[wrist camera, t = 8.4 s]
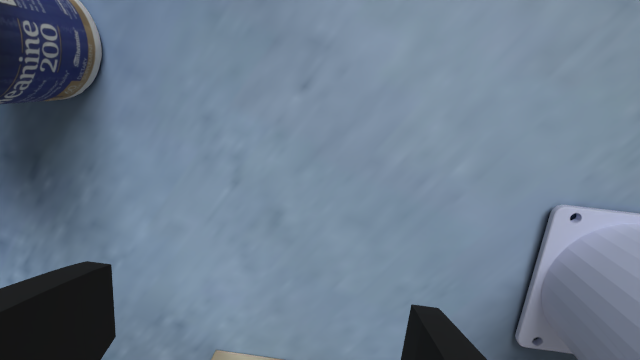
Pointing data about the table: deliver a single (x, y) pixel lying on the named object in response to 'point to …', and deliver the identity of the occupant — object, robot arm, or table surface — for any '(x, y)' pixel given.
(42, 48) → the pill bottle
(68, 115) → the table surface
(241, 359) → the birch plinth
